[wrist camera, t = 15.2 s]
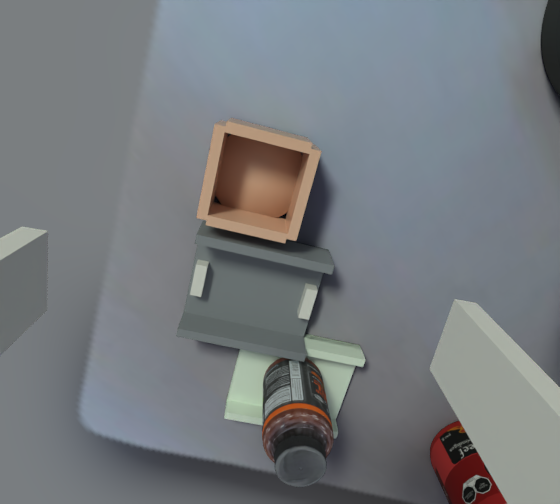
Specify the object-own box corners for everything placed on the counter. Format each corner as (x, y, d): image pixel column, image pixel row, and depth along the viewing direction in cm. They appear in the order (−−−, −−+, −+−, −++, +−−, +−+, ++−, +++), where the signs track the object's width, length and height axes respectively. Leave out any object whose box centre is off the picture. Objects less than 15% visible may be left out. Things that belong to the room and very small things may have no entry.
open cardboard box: (315, 139, 36) (323, 146, 32) (291, 228, 39) (294, 245, 35) (222, 115, 36) (215, 118, 31) (203, 207, 38) (195, 222, 34)
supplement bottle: (331, 388, 44) (352, 481, 34) (278, 410, 45) (282, 508, 34) (306, 343, 42) (321, 426, 32) (252, 366, 43) (248, 456, 32)
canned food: (504, 418, 47) (571, 509, 37) (485, 474, 50) (543, 573, 40) (436, 414, 47) (484, 505, 37) (421, 471, 50) (461, 570, 39)
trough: (359, 345, 44) (365, 360, 41) (332, 420, 47) (336, 438, 44) (246, 321, 42) (245, 335, 40) (226, 400, 45) (224, 418, 43)
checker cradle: (327, 249, 40) (334, 266, 36) (300, 338, 43) (303, 361, 39) (203, 220, 39) (196, 234, 35) (184, 314, 42) (176, 336, 38)
